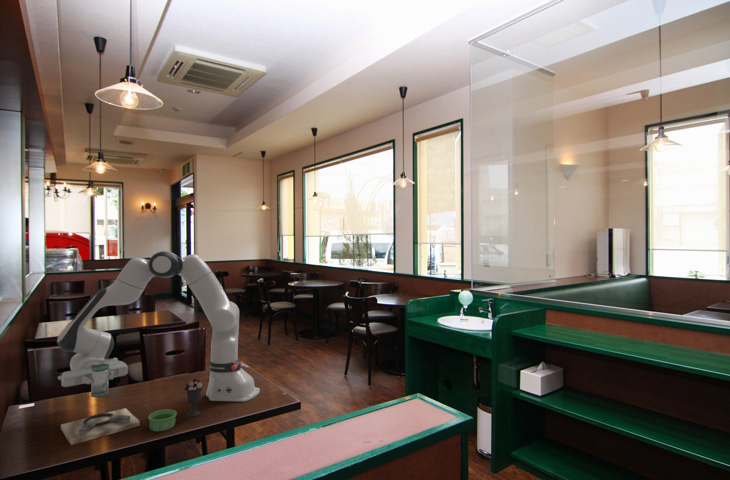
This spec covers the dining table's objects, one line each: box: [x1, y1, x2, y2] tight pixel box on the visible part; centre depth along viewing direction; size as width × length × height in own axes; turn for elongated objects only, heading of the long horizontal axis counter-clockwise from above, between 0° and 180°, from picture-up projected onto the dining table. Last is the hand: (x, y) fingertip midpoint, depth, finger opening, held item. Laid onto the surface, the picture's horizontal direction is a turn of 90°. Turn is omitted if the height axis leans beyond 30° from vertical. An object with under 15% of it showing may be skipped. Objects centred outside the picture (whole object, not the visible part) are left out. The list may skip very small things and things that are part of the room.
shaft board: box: [60, 408, 141, 446], centre depth 142 cm, size 20×16×4 cm
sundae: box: [183, 375, 205, 418], centre depth 154 cm, size 7×7×15 cm
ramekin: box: [147, 408, 177, 432], centre depth 143 cm, size 9×9×4 cm
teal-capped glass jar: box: [90, 364, 110, 398], centre depth 143 cm, size 5×5×10 cm
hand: (100, 379), depth 143 cm, fingers closed on teal-capped glass jar, 5 cm apart
